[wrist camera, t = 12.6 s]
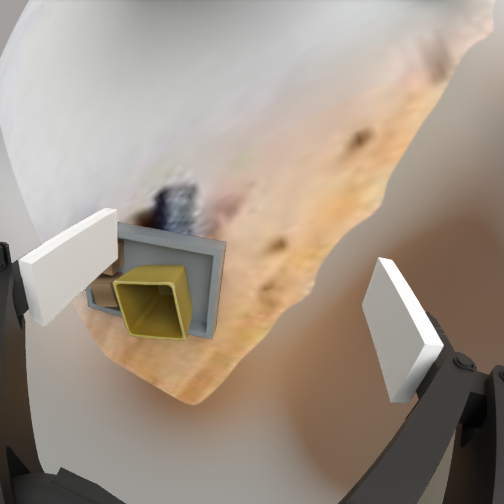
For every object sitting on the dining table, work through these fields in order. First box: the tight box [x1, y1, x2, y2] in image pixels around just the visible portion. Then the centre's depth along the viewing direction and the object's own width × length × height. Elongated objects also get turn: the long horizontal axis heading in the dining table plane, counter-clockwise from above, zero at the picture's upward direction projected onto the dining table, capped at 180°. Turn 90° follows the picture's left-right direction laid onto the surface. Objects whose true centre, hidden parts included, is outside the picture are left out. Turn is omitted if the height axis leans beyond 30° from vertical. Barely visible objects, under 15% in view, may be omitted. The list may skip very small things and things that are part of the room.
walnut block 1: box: [102, 239, 124, 276], centre depth 44 cm, size 4×4×4 cm
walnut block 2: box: [90, 272, 122, 307], centre depth 46 cm, size 4×4×4 cm
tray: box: [86, 222, 226, 339], centre depth 46 cm, size 15×22×3 cm
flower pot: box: [113, 265, 192, 341], centre depth 42 cm, size 9×9×9 cm
